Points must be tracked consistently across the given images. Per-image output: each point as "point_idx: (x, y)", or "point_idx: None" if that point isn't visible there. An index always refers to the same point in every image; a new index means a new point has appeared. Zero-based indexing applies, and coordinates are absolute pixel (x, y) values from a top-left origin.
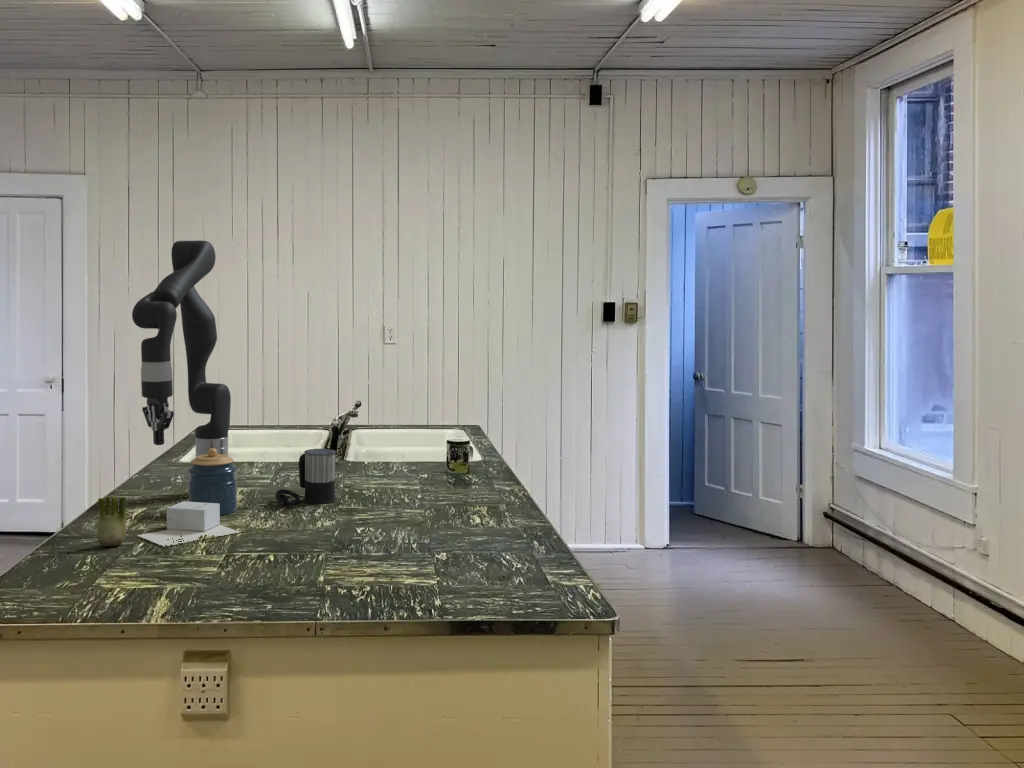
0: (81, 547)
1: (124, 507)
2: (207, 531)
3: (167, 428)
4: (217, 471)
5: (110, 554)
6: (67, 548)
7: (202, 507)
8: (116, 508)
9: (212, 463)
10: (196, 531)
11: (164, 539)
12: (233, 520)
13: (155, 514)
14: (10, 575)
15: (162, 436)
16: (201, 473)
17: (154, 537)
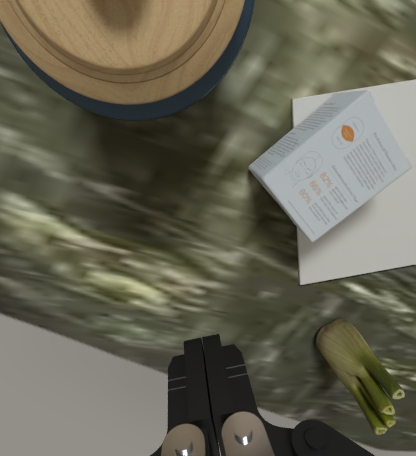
0: (305, 369)
1: (385, 369)
2: None
3: (315, 423)
4: (245, 1)
5: (381, 341)
6: (297, 386)
7: (380, 158)
8: (378, 382)
9: (236, 14)
10: None
11: (370, 249)
12: (297, 25)
13: (105, 195)
14: (382, 449)
15: (249, 385)
16: (214, 85)
17: (341, 262)
